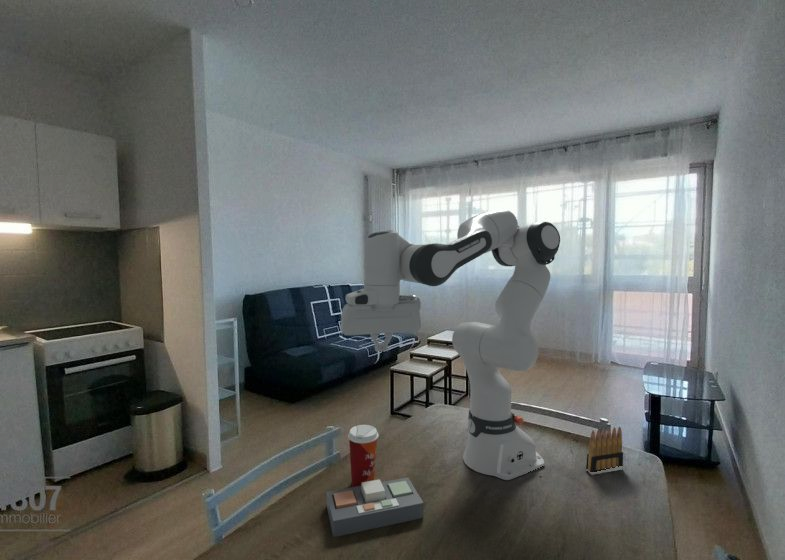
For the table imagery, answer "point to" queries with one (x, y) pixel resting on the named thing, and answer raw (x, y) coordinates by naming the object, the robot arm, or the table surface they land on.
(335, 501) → the key terracotta
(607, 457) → the ammunition clip
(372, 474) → the paper cup
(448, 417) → the table surface
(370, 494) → the key white
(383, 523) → the keypad housing
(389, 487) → the key sage
